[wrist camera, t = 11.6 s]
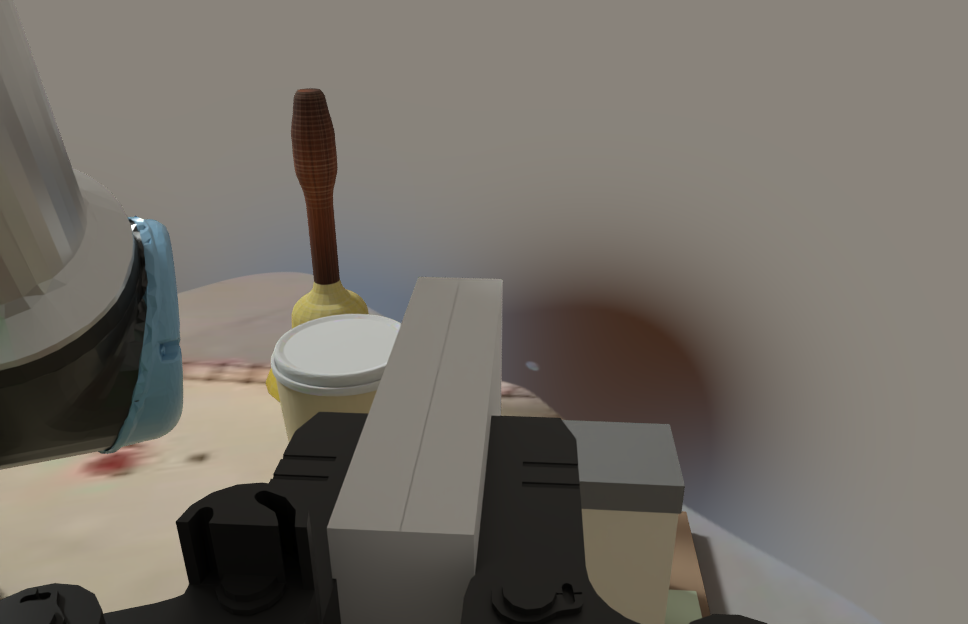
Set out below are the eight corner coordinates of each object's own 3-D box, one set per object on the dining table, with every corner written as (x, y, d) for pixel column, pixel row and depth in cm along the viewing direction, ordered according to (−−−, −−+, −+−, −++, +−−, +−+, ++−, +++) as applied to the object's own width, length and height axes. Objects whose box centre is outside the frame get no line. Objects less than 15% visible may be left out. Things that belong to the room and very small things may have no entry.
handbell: (428, 385, 68) (417, 94, 58) (292, 426, 62) (252, 110, 52) (370, 332, 78) (352, 74, 67) (248, 364, 72) (207, 86, 61)
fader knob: (664, 643, 40) (684, 486, 36) (544, 635, 40) (550, 479, 36) (652, 570, 45) (669, 424, 41) (545, 564, 45) (550, 419, 41)
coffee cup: (447, 473, 57) (443, 325, 51) (381, 556, 49) (368, 391, 44) (339, 443, 60) (325, 302, 55) (261, 516, 52) (237, 360, 47)
